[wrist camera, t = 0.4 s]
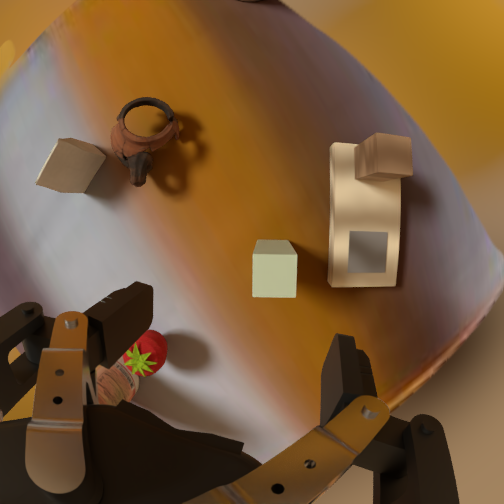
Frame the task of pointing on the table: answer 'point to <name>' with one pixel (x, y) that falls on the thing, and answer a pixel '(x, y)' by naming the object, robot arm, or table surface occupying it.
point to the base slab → (366, 210)
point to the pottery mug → (140, 140)
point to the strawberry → (146, 354)
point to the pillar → (274, 269)
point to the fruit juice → (116, 383)
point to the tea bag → (70, 166)
